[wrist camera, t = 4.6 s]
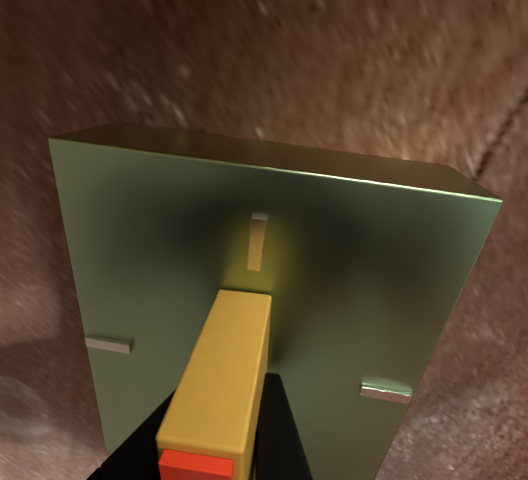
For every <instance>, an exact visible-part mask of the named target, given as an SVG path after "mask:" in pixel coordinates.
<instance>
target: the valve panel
mask: <svg viewBox="0 0 528 480" xmlns="http://www.w3.org/2000/svg"><path fill="white" fill-rule="evenodd" d="M48 144H49V150H50V155H51V160H52V166H53V171H54V176H55V181H56V187H57V192H58V197H59V203H60V208H61V213H62V219H63V224H64V229H65V235H66V240H67V245H68V250H69V256H70V261H71V266H72V272H73V277H74V282H75V288H76V293H77V298H78V304H79V309H80V314H81V319H82V325H83V330H84V335H85V343H86V346H87V351H88V357H89V362H90V367H91V372H92V378H93V383H94V388H95V394H96V399H97V404H98V410H99V415H100V420H101V426H102V431H103V436H104V441H105V447H106V452H108V453H113V452H114V451H115V450H116V449H117V448H118V447H119V446H120V445H121V444H122V443H123V442H124V441H125V440H126V439H127V438H128V437H129V436H130V435H131V434H132V433H133V432H134V431H135V430H136V429H137V428H138V427H139V426H140V425H141V424H142V423H143V422H144V421H145V420H146V419H147V418H148V416H149V415H150V414H151V413H152V412H153V411H154V410H155V409H156V408H157V407H158V406H159V405H160V404H161V403H162V402H163V401H164V400H165V399H166V398H167V397H168V396H169V395H170V394H171V393H172V392H173V391H174V390H175V389H176V388H177V386H178V384H179V382H180V379H181V377H182V375H183V372H184V370H185V368H186V365H187V363H188V361H189V358H190V356H191V354H192V351H193V349H194V347H195V344H196V342H197V340H198V337H199V335H200V333H201V331H202V328H203V326H204V324H205V321H206V319H207V317H208V314H209V312H210V310H211V307H212V305H213V303H214V300H215V298H216V296H217V293H218V291H219V290H221V289H222V290H231V291H240V292H249V293H257V294H266V295H270V296H271V298H272V302H271V316H270V330H269V344H268V359H267V372H270V373H278V374H279V375H280V376H281V379H282V382H283V385H284V389H285V392H286V395H287V398H288V401H289V404H290V408H291V411H292V414H293V417H294V420H295V423H296V427H297V430H298V433H299V436H300V439H301V442H302V446H303V449H304V452H305V455H306V458H307V461H308V465H309V468H310V471H311V474H312V477H313V480H375V478H376V476H377V474H378V471H379V469H380V467H381V465H382V463H383V461H384V459H385V456H386V454H387V452H388V450H389V448H390V446H391V443H392V441H393V439H394V437H395V435H396V433H397V431H398V428H399V426H400V424H401V422H402V420H403V418H404V416H405V413H406V411H407V409H408V407H409V405H410V403H411V400H412V398H413V396H414V394H415V392H416V390H417V388H418V385H419V383H420V381H421V379H422V377H423V375H424V372H425V370H426V368H427V366H428V364H429V362H430V360H431V357H432V355H433V353H434V351H435V349H436V347H437V344H438V342H439V340H440V338H441V336H442V334H443V332H444V329H445V327H446V325H447V323H448V321H449V319H450V316H451V314H452V312H453V310H454V308H455V306H456V304H457V301H458V299H459V297H460V295H461V293H462V291H463V288H464V286H465V284H466V282H467V280H468V278H469V276H470V273H471V271H472V269H473V267H474V265H475V263H476V260H477V258H478V256H479V254H480V252H481V250H482V248H483V245H484V243H485V241H486V239H487V237H488V235H489V233H490V230H491V228H492V226H493V224H494V222H495V220H496V217H497V215H498V213H499V211H500V209H501V207H502V205H503V199H501V198H499V197H498V196H496V195H495V194H493V193H492V192H490V191H488V190H487V189H485V188H484V187H482V186H480V185H479V184H477V183H476V182H474V181H472V180H471V179H469V178H468V177H466V176H464V175H463V174H461V173H460V172H458V171H456V170H455V169H453V168H452V167H450V166H447V165H440V164H432V163H425V162H417V161H409V160H402V159H394V158H387V157H379V156H372V155H364V154H357V153H349V152H342V151H334V150H327V149H319V148H311V147H304V146H296V145H289V144H281V143H274V142H266V141H259V140H251V139H244V138H236V137H228V136H221V135H213V134H206V133H198V132H191V131H183V130H176V129H168V128H161V127H153V126H145V125H138V124H130V123H123V122H114V123H109V124H105V125H100V126H96V127H91V128H87V129H82V130H78V131H73V132H69V133H64V134H60V135H55V136H51V137H49V138H48Z"/></svg>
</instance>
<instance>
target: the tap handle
mask: <svg viewBox="0 0 528 480" xmlns="http://www.w3.org/2000/svg"><path fill="white" fill-rule="evenodd" d="M271 302H272V298H271V296H270V295H266V294H257V293H249V292H240V291H231V290H222V289H221V290H219V291H218V293H217V296H216V298H215V300H214V303H213V305H212V307H211V310H210V312H209V314H208V317H207V319H206V321H205V324H204V326H203V328H202V331H201V333H200V335H199V337H198V340H197V342H196V344H195V347H194V349H193V351H192V354H191V356H190V358H189V361H188V363H187V365H186V368H185V370H184V372H183V375H182V377H181V379H180V382H179V384H178V386H177V388H176V391H175V393H174V395H173V398H172V400H171V402H170V405H169V407H168V409H167V412H166V414H165V416H164V419H163V421H162V423H161V426H160V428H159V430H158V433H157V435H156V444H157V450H158V457H159V463H158V465H159V471H160V477H161V480H255V465H256V447H257V430H258V414H259V407H260V401H261V395H262V389H263V383H264V378H265V373H267V359H268V344H269V330H270V316H271Z"/></svg>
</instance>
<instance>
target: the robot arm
mask: <svg viewBox="0 0 528 480" xmlns="http://www.w3.org/2000/svg"><path fill="white" fill-rule="evenodd" d="M175 391H176V389H175V390H174V391H173V392H172V393H171V394H170V395H169V396H168V397H167V398H166V399H165V400H164V401H163V402H162V403H161V404H160V405H159V406H158V407H157V408H156V409H155V410H154V411H153V412H152V413H151V414H150V415H149V416H148V418H147V419H146V420H145V421H144V422H143V423H142V424H141V425H140V426H139V427H138V428H137V429H136V430H135V431H134V432H133V433H132V434H131V435H130V436H129V437H128V438H127V439H126V440H125V441H124V442H123V443H122V444H121V445H120V446H119V447H118V448H117V449H116V450H115V451H114V452H113V453H112V454H111V455H110V456H109V457H108V458H107V459H106V460H105V461H104V462H103V463H102V464H101V468H97V469H96V470H95V471H94V472H93V473H92V474H91V475H90V476H89V477H88V478H87V479H86V480H161V477H160V471H159V465H158V463H159V457H158V450H157V444H156V435H157V433H158V430H159V428H160V426H161V423H162V421H163V419H164V416H165V414H166V412H167V409H168V407H169V405H170V402H171V400H172V398H173V395H174V393H175ZM255 480H313V477H312V474H311V471H310V468H309V465H308V461H307V458H306V455H305V452H304V449H303V446H302V442H301V439H300V436H299V433H298V430H297V427H296V423H295V420H294V417H293V414H292V411H291V408H290V404H289V401H288V398H287V395H286V392H285V389H284V385H283V382H282V379H281V376H280V375H279V374H278V373H270V372H267V373H265V378H264V383H263V389H262V395H261V401H260V407H259V414H258V430H257V447H256V465H255Z"/></svg>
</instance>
